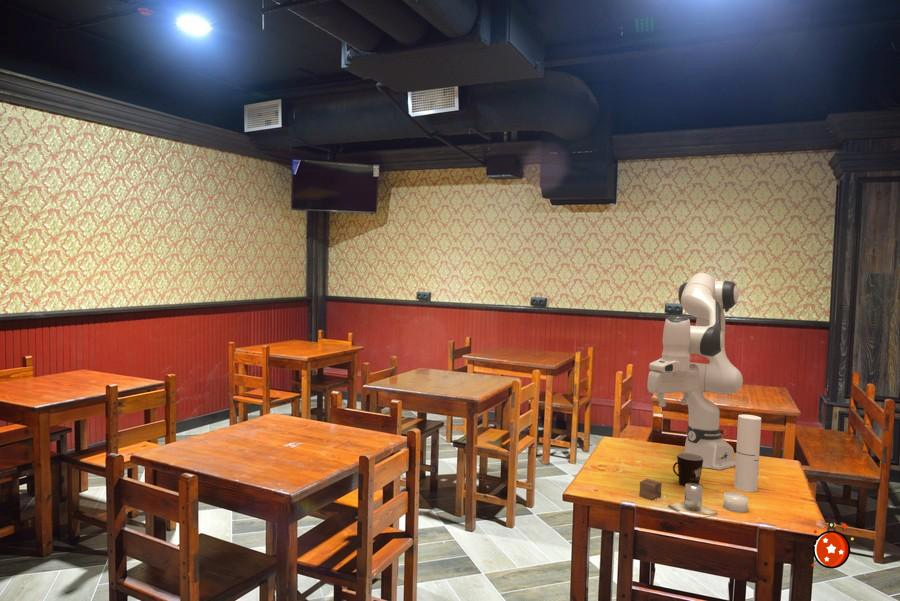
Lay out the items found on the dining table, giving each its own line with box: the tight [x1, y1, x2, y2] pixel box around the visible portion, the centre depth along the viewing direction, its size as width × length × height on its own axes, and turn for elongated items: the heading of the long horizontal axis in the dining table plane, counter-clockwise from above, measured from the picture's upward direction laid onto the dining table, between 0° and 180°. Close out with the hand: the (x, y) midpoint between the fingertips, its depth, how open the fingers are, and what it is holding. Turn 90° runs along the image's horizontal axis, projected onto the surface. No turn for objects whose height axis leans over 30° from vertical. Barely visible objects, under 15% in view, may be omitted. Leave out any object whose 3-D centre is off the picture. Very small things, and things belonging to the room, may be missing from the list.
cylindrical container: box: [733, 414, 762, 493], centre depth 209 cm, size 7×7×25 cm
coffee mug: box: [672, 452, 704, 488], centre depth 211 cm, size 12×9×10 cm
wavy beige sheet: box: [667, 501, 718, 516], centre depth 187 cm, size 10×10×1 cm
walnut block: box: [638, 478, 663, 501], centre depth 198 cm, size 5×5×5 cm
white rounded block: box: [722, 491, 749, 514], centre depth 191 cm, size 7×7×4 cm
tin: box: [683, 483, 704, 511], centre depth 187 cm, size 5×5×7 cm
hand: (673, 405), depth 203 cm, fingers open, 8 cm apart
